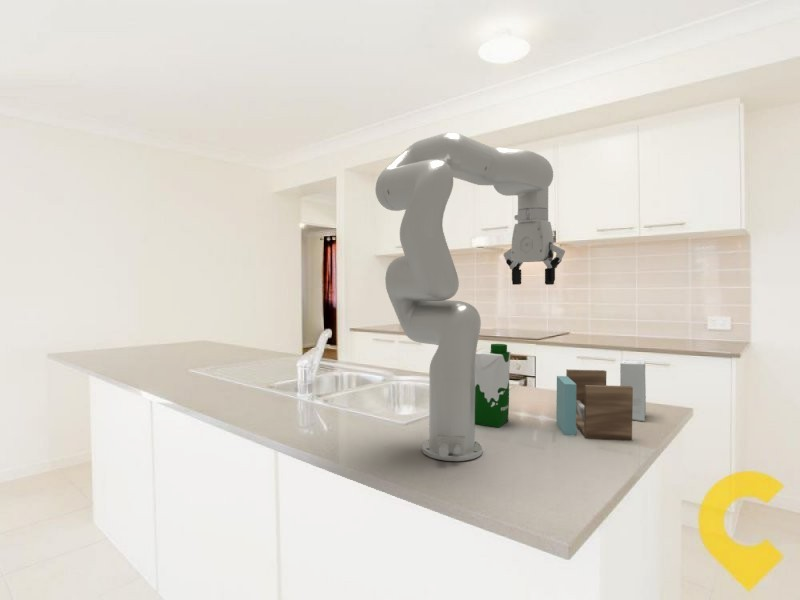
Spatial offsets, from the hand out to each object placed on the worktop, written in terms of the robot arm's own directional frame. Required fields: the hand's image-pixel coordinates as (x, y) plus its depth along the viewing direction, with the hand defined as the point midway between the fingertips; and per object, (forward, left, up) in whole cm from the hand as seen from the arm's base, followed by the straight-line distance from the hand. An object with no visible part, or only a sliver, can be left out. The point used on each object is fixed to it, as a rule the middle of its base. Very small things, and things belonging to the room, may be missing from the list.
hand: (532, 284), depth 123 cm
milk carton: (-4, +11, -35) cm, 37 cm away
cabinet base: (-3, -15, -35) cm, 38 cm away
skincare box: (+7, -27, -35) cm, 45 cm away
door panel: (-7, -7, -35) cm, 37 cm away
